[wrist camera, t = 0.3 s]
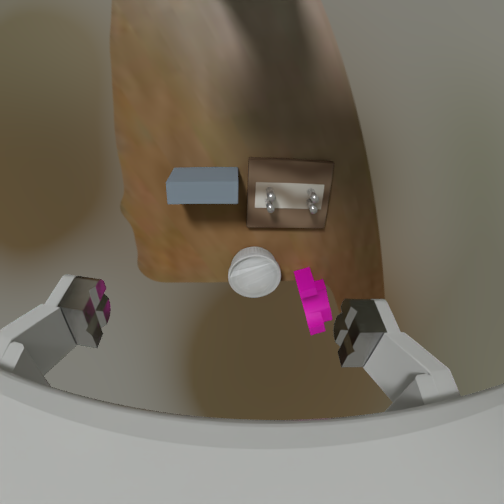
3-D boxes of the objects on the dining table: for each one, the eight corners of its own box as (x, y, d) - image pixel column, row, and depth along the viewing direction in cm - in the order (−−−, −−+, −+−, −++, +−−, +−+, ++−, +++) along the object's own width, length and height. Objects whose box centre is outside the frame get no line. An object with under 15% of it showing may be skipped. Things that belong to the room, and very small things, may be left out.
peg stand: (248, 157, 54) (250, 165, 50) (331, 161, 56) (340, 170, 51) (246, 223, 62) (247, 237, 57) (322, 224, 63) (329, 238, 59)
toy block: (328, 307, 77) (335, 328, 71) (305, 313, 78) (310, 335, 72) (319, 263, 69) (327, 284, 63) (293, 270, 70) (299, 292, 64)
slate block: (174, 167, 55) (165, 182, 48) (237, 167, 56) (238, 181, 49) (175, 187, 57) (167, 204, 50) (237, 186, 58) (237, 203, 51)
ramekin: (248, 232, 63) (249, 246, 59) (288, 258, 68) (292, 272, 63) (218, 268, 68) (217, 283, 64) (257, 290, 72) (259, 305, 68)
